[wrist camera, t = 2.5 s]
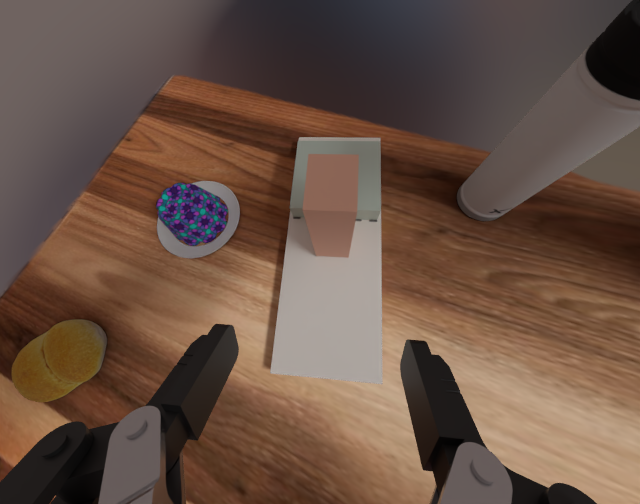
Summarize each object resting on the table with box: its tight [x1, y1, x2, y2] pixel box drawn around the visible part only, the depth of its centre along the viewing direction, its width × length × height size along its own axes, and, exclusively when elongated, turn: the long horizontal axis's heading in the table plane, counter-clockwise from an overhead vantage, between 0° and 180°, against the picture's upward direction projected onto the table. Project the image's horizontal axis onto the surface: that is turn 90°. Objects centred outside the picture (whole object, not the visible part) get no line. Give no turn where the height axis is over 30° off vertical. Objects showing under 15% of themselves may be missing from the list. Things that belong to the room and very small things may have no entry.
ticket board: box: [270, 137, 382, 384], centre depth 28 cm, size 32×12×4 cm, turn 176°
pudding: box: [156, 181, 240, 258], centre depth 30 cm, size 12×12×5 cm
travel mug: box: [457, 0, 640, 221], centre depth 21 cm, size 6×7×20 cm
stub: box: [303, 154, 359, 258], centre depth 23 cm, size 5×4×12 cm
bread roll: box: [12, 319, 107, 402], centre depth 26 cm, size 8×9×4 cm
